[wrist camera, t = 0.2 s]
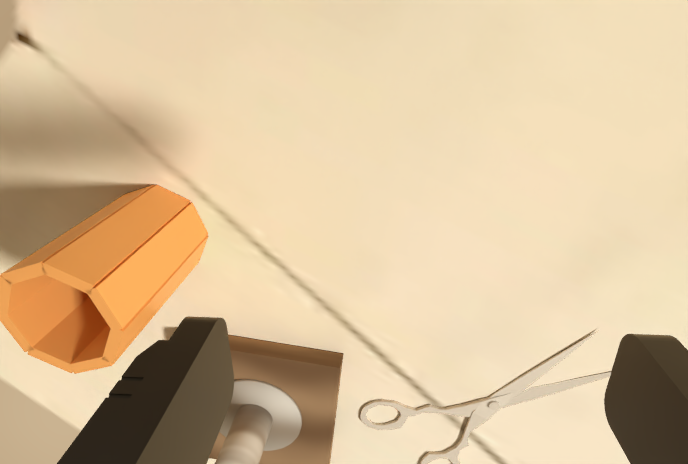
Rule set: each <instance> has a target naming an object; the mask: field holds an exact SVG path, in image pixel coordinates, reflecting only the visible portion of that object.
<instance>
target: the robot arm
mask: <svg viewBox="0 0 688 464" xmlns="http://www.w3.org/2000/svg"><path fill="white" fill-rule="evenodd" d="M233 390H234V372H233V365H232V358H231V352H230V345H229V339H228V332H227V326H226V322H225V320H224V319H223V318H209V317H186V318H184V319H183V321H182V322H181V323H180V325H179V326H178V328H177V329H176V331H175V332H174V334H173V335H172V337H171V338H170V340H169V341H167V340H158V341H157V342H156V343H154V344H153V345H152V346H150V347H149V348H148V349H146V350H145V351H143V352H142V353H141V354H139V355H138V356H137V357H136V358H135V359H134V361H133V362H132V363H131V365H130V366H129V367H128V369H127V370H126V372H125V373H124V374H123V376H122V380H121V381H120V380H119V381H118V382H117V384H116V385H115V386H114V388H113V389H112V390H111V392H110V393H109V398H105V400H104V401H103V402H102V404H101V405H100V406H99V408H98V409H97V411H96V412H95V413H94V415H93V416H92V417H91V419H90V420H89V421H88V423H87V424H86V425H85V427H84V428H83V429H82V431H81V432H80V433H79V435H78V436H77V437H76V439H75V440H74V442H73V443H72V444H71V445H70V447H69V448H68V450H67V451H66V452H65V454H64V455H63V456H62V458H61V459H60V460H59V462H58V463H57V464H206V463H207V461H208V459H209V456H210V454H211V451H212V449H213V446H214V444H215V441H216V439H217V436H218V434H219V431H220V429H221V426H222V424H223V421H224V419H225V417H226V414H227V412H228V409H229V407H230V404H231V400H232V396H233ZM604 404H605V412H606V417H607V420H608V423H609V425H610V427H611V429H612V431H613V433H614V435H615V437H616V438H617V440H618V442H619V444H620V445H621V447H622V449H623V451H624V453H625V454H626V456H627V458H628V460H629V462H630V463H631V464H688V350H687V349H686V348H685V347H684V346H683V345H682V344H681V343H680V342H679V341H678V340H677V339H676V338H675V337H673V336H668V335H642V334H627V335H625V336H624V337H623V338H622V340H621V342H620V345H619V348H618V352H617V355H616V358H615V362H614V365H613V368H612V372H611V375H610V379H609V382H608V385H607V389H606V392H605V399H604Z"/></svg>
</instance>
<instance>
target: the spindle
mask: <svg viewBox="0 0 688 464" xmlns="http://www.w3.org/2000/svg"><path fill="white" fill-rule="evenodd" d="M228 339H229V345H230V352H231V358H232V365H233V372H234V390H233V396H232V400H231V404H230V407H229V409H228V412H227V414H226V417H225V419H224V421H223V424H222V426H221V429H220V431H219V434H218V436H217V439H216V441H215V444H214V446H213V449H212V451H211V454H210V456H209V458H212V459H217V460H216V462H215V464H330V458H331V450H332V442H333V434H334V426H335V417H336V409H337V401H338V393H339V385H340V376H341V368H342V360H343V354H342V353H336V352H330V351H324V350H318V349H312V348H305V347H299V346H293V345H287V344H281V343H275V342H269V341H262V340H256V339H250V338H244V337H238V336H232V335H228Z"/></svg>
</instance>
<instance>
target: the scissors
mask: <svg viewBox="0 0 688 464" xmlns="http://www.w3.org/2000/svg"><path fill="white" fill-rule="evenodd" d="M598 331H599V330H598ZM598 331H597V332H598ZM597 332H595V333H597ZM595 333H593V334H591V335H590V336H588V337H586V338H585V339H583V340H581V341H579V342H578V343H576V344H574V345H572V346H571V347H569V348H567V349H565V350H564V351H562V352H560V353H558V354H557V355H555V356H553V357H552V358H550V359H548V360H546V361H545V362H543V363H541V364H540V365H538V366H536V367H535V368H533V369H531V370H530V371H528V372H526V373H525V374H523V375H522V376H520V377H518V378H517V379H515V380H514V381H512V382H511V383H509V384H507V385H506V386H504V387H503V388H501V389H500V390H498V391H496V392H495V393H493V394H492V395H491V396H489V397H487V398H482V399H478V400H475V401H471V402H467V403H464V404H459V405H453V406H449V407H437V406H434V405H431V404H428V405H425V406H422V407H419V408H413V407H410V406H407V405H404V404H402V403H399V402H397V401H394V400H384V399H380V400H373V401H371V402H369V403H367V404H366V405H365V406H364V407H363V408H362V410H361V416H360V419H361V420H362V422H363V423H364V424H366V425H367V426H368V427H371V428H374V429H377V430H392V429H397V428H401V427H402V426H403V424H404V423H405V421H406V419H407V418H408V416H415V415H418V414H421V413H441V414H449V415H454V416H461V417H469V419H468V421H467V424H466V426H465V429H464V432H463V435H462V437H461V439H460V441H459V442H458V443H457V444H456V445H455V446H453V447H451V448H449V449H447V450H445V451H440V452H428V453H427V454H425V455H424V456H423V457H422V460H421V462H420V464H428V463H429V462H431V461H433V460H435V459H438V458H442V459H449V460H450V461H451V462H452V463H453V464H460V460H459V458H458V454H459V451H460V450H461V449H463V448H465V447H467V446H468V437H469V434H470V432H471V431H472V430H474V429H476V428H477V427H479V426H480V425H482V424H483V423H485V422H486V421H488V420H489V419H490V418H491V417H492V416H493V415H494V414H495V413H496V412H497V411H499V410H500V409H501V408H504V407H508V406H512V405H515V404H519V403H523V402H526V401H530V400H534V399H537V398H541V397H544V396H548V395H551V394H555V393H558V392H561V391H564V390H567V389H571V388H574V387H577V386H580V385H583V384H587V383H590V382H593V381H597V380H600V379H603V378H606V377H610V375H611V372H607V373H602V374H597V375H592V376H587V377H581V378H576V379H572V380H567V381H563V382H558V383H553V384H548V385H542V386H537V387H532V388H529V389H527V390H525V389H526V388H527V387H529V386H530V385H531V384H532V383H534V382H535V381H536V380H538V379H539V378H540V377H542V376H543V375H544V374H545V373H547V372H548V371H549V370H551V369H552V368H553V367H554V366H556V365H557V364H558V363H559V362H560V361H562V360H563V359H564V358H565V357H567V356H568V355H569V354H570V353H572V352H573V351H574V350H575V349H577V348H578V347H579V346H580V345H582V344H583V343H584V342H585V341H587V340H588V339H589V338H590V337H592V336H593V335H594V334H595ZM523 390H525V391H523ZM377 405H385V406H391V407H395V408H396V409H397V410H398V411H399V412H400V416H399V417H398V419H397V420H394V421H391V422H387V423H374V422H372V421H371V420H370V419H369V418H368V417H367V415H366V412H367V411H368V409H370V408H372V407H375V406H377Z"/></svg>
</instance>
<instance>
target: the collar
mask: <svg viewBox="0 0 688 464" xmlns="http://www.w3.org/2000/svg"><path fill="white" fill-rule="evenodd" d="M189 203H190V200H188V199H186V198H183V197H181V196H179V195H177V194H175V193H173V192H171V191H169V190H167V189H165V188H163V187H161V186H158V185H156V186H155V185H151V186H148V187H145V188H142V189H139V190H136V191H133V192H130V193H127V194H124V195H123V196H121V197H120V198H118V199H117V200H115V201H113V202H112V203H110V204H109V205H107V206H106V207H104V208H103V209H101V210H100V211H98V212H96V213H95V214H93V215H92V216H90V217H89V218H87V219H86V220H84V221H82V222H81V223H79V224H78V225H76V226H75V227H73V228H72V229H70V230H69V231H67V232H65V233H64V234H62V235H61V236H59V237H58V238H56V239H55V240H53V241H51V242H50V243H48V244H47V245H45V246H44V247H42V248H41V249H39V250H38V251H36V252H34V253H33V254H31V255H30V256H28V257H27V258H25V259H24V260H22V261H20V262H19V263H17V264H16V265H14V266H13V267H11V268H10V269H8V270H7V271H5V272H3V273H2V274H1V275H0V321H1V322H2V323H3V325H4V326H5V327H6V329H7V330H8V331H9V332H10V334H11V335H12V336H13V338H14V339H15V340H16V341H17V343H18V344H19V345H20V347H21V348H22V349H23V350H24V352H27V351H28V355H31V356H33V357H35V358H37V359H40V360H42V361H44V362H47V363H49V364H51V365H54V366H56V367H58V368H61V369H63V370H65V371H67V372H70V373H72V372H74V373H80V372H85V371H89V370H94V369H99V368H103V367H108V366H112V365H113V364H114V363H115V362H116V361H117V359H118V358H119V357H120V356H121V355H122V353H123V352H124V351H125V350H126V349H127V347H128V346H129V345H130V344H131V343H132V341H133V340H134V339H135V338H136V337H137V335H138V334H139V333H140V332H141V331H142V330H143V328H144V327H145V326H146V325H147V324H148V322H149V321H150V320H151V319H152V318H153V316H154V315H155V314H156V313H157V312H158V310H159V309H160V308H161V307H162V306H163V304H164V303H165V302H166V301H167V300H168V298H169V297H170V296H171V295H172V294H173V292H174V291H175V290H176V289H177V288H178V286H179V285H180V284H181V283H182V282H183V280H184V279H185V278H186V277H187V276H188V274H189V273H190V272H191V271H192V270H193V268H194V267H195V266H196V265H197V264H198V262H199V260H200V257H201V255H202V252H203V249H204V247H205V244H206V241H207V239H208V236H207V235H208V232H207V230H206V228H205V227H204V225H203V223H202V221H201V219H200V217H199V215H198V213H197V211H196V209H195V207H194V205H193V203H190V204H189Z"/></svg>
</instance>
